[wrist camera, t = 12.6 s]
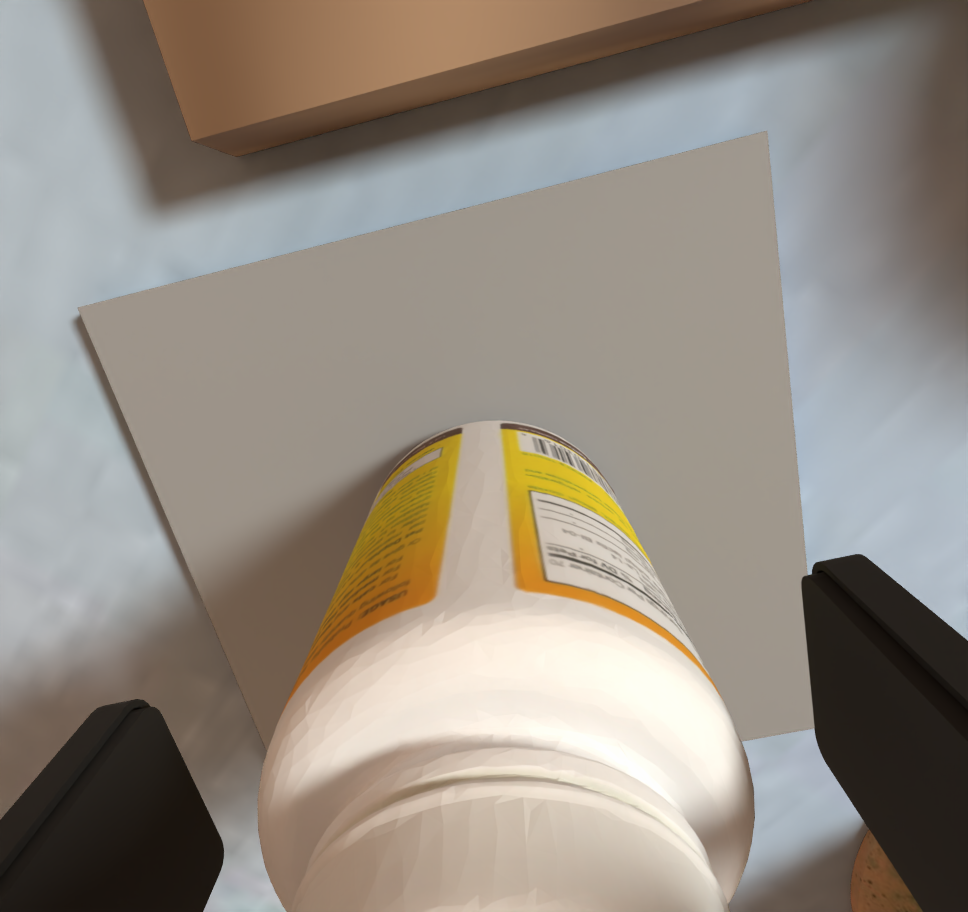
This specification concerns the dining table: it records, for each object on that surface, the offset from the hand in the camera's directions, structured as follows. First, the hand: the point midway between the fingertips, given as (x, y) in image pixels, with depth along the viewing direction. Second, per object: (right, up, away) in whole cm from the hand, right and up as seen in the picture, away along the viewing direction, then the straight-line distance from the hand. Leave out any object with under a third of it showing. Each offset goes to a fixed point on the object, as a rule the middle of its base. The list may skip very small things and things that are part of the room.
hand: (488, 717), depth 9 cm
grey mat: (0, +2, +6) cm, 6 cm away
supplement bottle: (0, +2, +6) cm, 6 cm away
